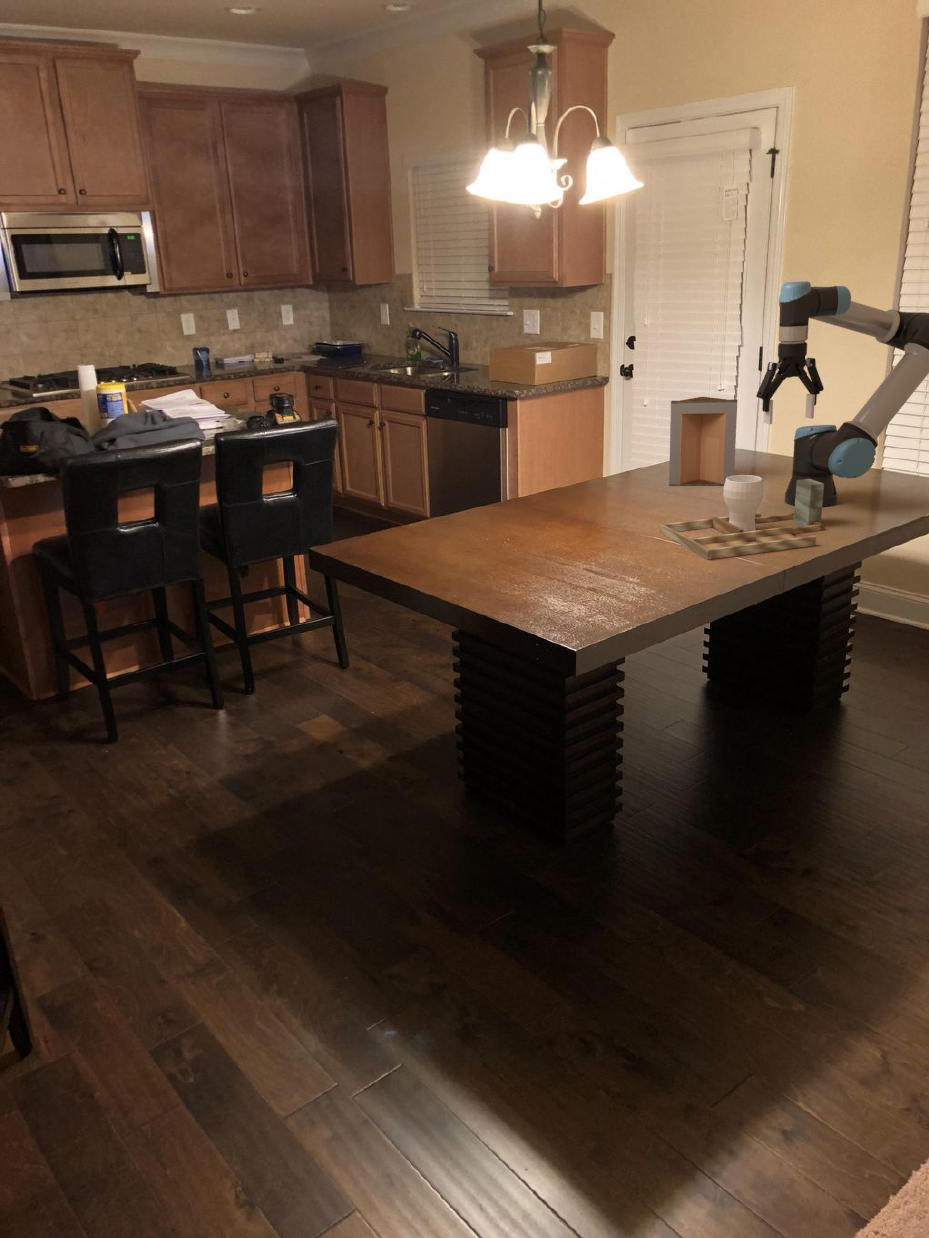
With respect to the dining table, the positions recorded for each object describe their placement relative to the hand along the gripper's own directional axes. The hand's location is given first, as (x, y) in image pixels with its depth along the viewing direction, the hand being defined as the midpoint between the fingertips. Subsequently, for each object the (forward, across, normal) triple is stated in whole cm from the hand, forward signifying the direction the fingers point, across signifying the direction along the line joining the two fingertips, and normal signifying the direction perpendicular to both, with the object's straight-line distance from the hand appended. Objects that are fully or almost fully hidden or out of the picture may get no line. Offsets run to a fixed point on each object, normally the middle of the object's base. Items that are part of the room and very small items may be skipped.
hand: (788, 420), depth 272 cm
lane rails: (+28, +23, +11) cm, 38 cm away
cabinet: (+28, -5, -52) cm, 59 cm away
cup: (+28, +18, +6) cm, 34 cm away
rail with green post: (+28, +10, +7) cm, 31 cm away
